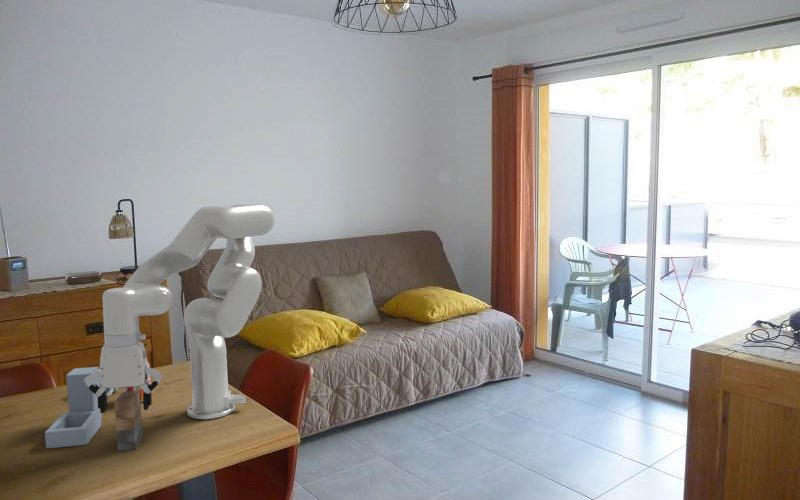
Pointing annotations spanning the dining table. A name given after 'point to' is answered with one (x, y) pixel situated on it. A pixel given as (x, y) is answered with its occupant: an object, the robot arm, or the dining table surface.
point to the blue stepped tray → (76, 413)
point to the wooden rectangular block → (128, 420)
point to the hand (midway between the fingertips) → (125, 409)
